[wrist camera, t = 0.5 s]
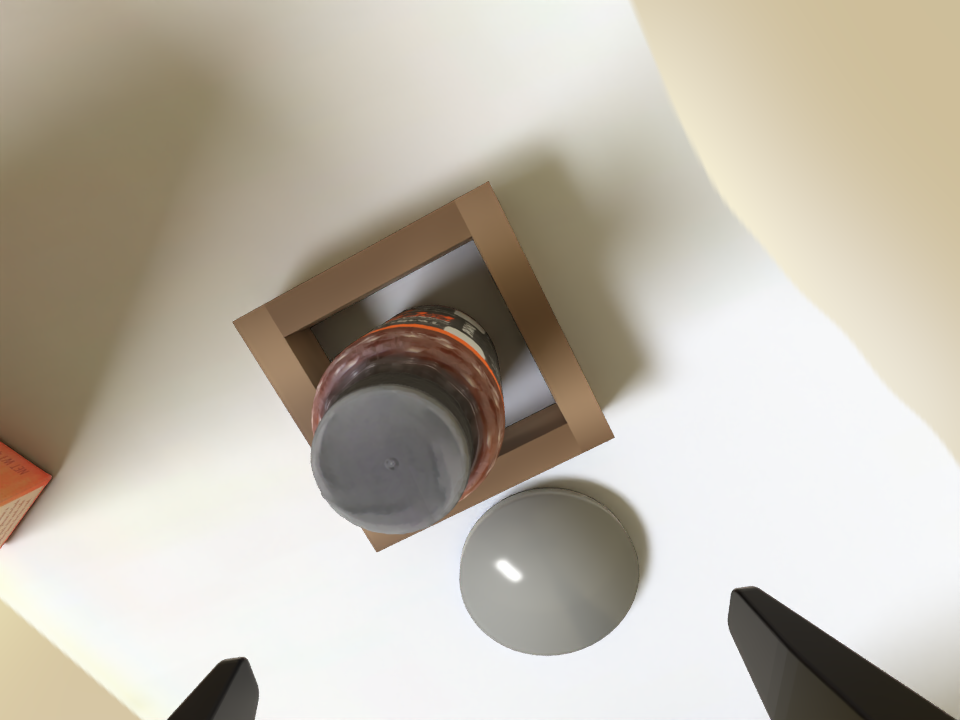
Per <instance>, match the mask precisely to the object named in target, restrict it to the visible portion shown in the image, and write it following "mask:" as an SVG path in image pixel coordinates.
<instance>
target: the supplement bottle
mask: <svg viewBox="0 0 960 720" xmlns="http://www.w3.org/2000/svg"><path fill="white" fill-rule="evenodd" d="M311 412H312V419H311V423H312V431H313V437H314V438H313V441H312V447H311V466H312V471H313V475H314V478H315V480H316V483H317V485H318V488H319V489H320V491H321V495H322V496H323V498H324V499H326V500H327V502H328V503H329V505H330V506H331V507H332V508H333V509H334V510H335V511H336V512H337V513H338V514H339V515H340V516H342V517H343V518H345V519H347V520H348V521H349V522H351V523H353V524H354V525H356V526H359V527H361V528H364V529H366V530H369V531H371V532H378V533H384V534H406V533H413V532H416V531H418V530H422V529H425V528H428V527H430V526H431V525H433V524H434V523H436V522H437V521H439V520H441V519H442V518H443V517H445V516H446V515H447V514H448V513H449V512H450V511H451V510H452V509H453V508H454V507H455V506H456V504H457V503H458V502H459V501H461V500H463V499H464V498H466V497H467V496H468V495H469V494H471V493H472V492H473V491H474V490H476V489H477V488H478V486H479V485H480V484H481V483H482V482H483V481H484V480H485V478H486V477H487V475H488V474H489V473H490V471H491V469H492V468H493V466H494V464H495V462H496V460H497V457H498V455H499V452H500V449H501V446H502V442H503V438H504V430H505V411H504V402H503V393H502V386H501V378H500V370H499V364H498V358H497V354H496V351H495V348H494V345H493V343H492V341H491V339H490V337H489V336H488V334H487V333H486V332H485V330H484V329H483V328H482V327H481V326H480V324H479V323H477V322H476V321H475V320H474V319H473V318H471V317H470V316H469V315H467V314H465V313H463V312H461V311H459V310H456V309H454V308H450V307H446V306H438V305H430V306H428V305H427V306H420V307H416V308H411V309H409V310H405V311H403V312H401V313H399V314H397V315H396V316H394V317H393V318H392V319H390V320H388V321H386V322H385V323H384V324H382V325H380V326H378V327H376V328H375V329H373V330H371V331H370V332H368V333H367V334H365V335H364V336H362V337H361V338H359V339H358V340H356V341H355V342H353V343H352V344H350V345H349V346H347V347H346V348H345V349H344V350H343V351H342V352H341V353H340V354H339V355H337V356H336V357H335V359H334V360H333V361H332V363H330V365H329V366H328V368H327V369H326V371H325V372H324V373H323V375H322V378H321V380H320V382H319V384H318V386H317V389H316V394H315V397H314V401H313V407H312V411H311Z"/></svg>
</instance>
